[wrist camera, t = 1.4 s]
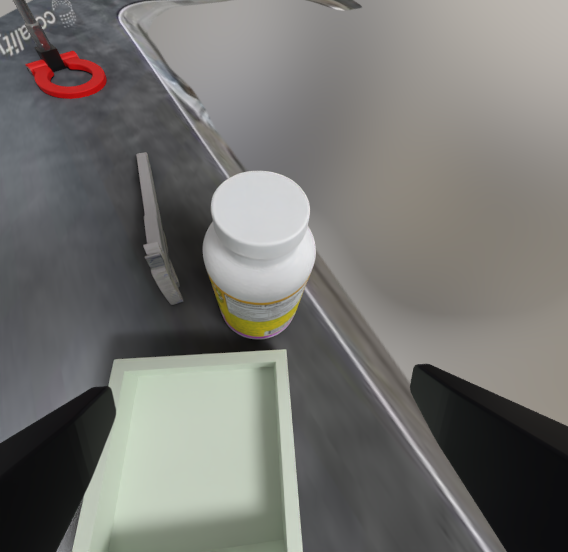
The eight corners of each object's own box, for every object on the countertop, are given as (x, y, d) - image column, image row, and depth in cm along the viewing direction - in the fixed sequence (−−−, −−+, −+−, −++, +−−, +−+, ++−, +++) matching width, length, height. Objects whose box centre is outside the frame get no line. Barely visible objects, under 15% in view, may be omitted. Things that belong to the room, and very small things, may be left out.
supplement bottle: (233, 266, 25) (215, 144, 14) (300, 281, 25) (337, 170, 14) (210, 332, 22) (163, 244, 11) (287, 350, 22) (322, 279, 11)
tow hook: (120, 88, 38) (82, 58, 40) (65, -50, 26) (16, -83, 28) (62, 110, 34) (24, 76, 36) (-30, -39, 23) (-79, -76, 25)
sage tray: (296, 551, 16) (304, 577, 13) (92, 583, 15) (56, 619, 12) (282, 357, 21) (286, 349, 19) (132, 366, 20) (114, 359, 17)
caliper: (185, 304, 23) (164, 269, 18) (173, 308, 23) (147, 273, 17) (148, 156, 31) (125, 100, 26) (138, 157, 31) (113, 102, 26)
